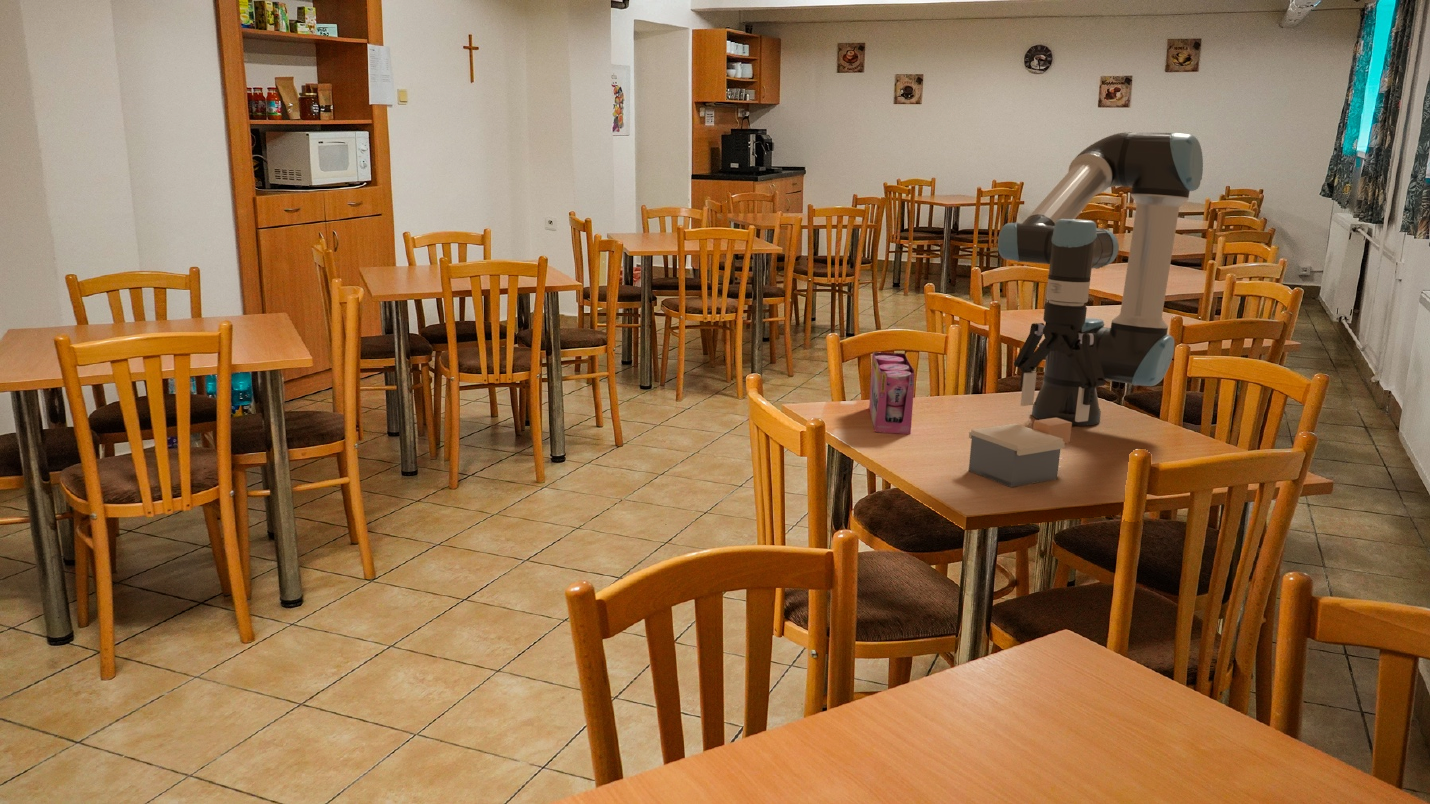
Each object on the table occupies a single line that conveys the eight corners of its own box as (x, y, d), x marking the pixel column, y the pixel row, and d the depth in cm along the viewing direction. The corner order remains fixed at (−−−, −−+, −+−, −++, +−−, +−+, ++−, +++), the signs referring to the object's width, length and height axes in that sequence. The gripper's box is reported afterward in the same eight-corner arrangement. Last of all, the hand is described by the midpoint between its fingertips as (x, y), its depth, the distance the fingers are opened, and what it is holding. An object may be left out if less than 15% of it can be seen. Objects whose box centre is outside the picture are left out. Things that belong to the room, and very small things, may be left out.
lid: (1036, 431, 211) (1038, 412, 210) (1088, 448, 200) (1090, 427, 199) (968, 441, 202) (970, 421, 201) (1018, 459, 191) (1020, 438, 190)
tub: (1013, 463, 209) (1017, 429, 207) (1057, 478, 199) (1061, 443, 198) (968, 470, 203) (971, 435, 201) (1010, 487, 193) (1014, 450, 192)
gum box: (912, 436, 226) (917, 374, 223) (875, 434, 227) (879, 372, 223) (901, 409, 249) (906, 353, 246) (868, 407, 250) (871, 351, 246)
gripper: (1003, 294, 207) (992, 400, 211) (1106, 313, 186) (1092, 430, 190) (1030, 293, 210) (1019, 397, 215) (1135, 311, 189) (1119, 426, 194)
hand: (1053, 413), depth 203 cm, fingers open, 13 cm apart
